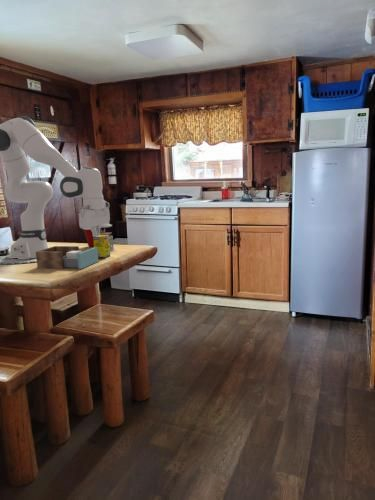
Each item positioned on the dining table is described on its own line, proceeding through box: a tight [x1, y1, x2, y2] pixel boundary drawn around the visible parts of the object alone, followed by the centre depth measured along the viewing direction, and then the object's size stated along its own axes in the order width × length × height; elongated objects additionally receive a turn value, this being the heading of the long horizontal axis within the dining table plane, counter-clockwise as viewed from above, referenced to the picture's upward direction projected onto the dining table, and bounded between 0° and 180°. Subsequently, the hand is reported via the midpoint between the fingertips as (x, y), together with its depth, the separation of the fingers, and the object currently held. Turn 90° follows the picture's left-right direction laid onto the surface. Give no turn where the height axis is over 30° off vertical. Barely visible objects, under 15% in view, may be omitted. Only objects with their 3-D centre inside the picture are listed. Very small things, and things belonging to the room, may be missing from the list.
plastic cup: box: [82, 228, 94, 248], centre depth 224 cm, size 11×11×12 cm
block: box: [66, 250, 83, 258], centre depth 177 cm, size 5×5×5 cm
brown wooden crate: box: [35, 245, 80, 270], centre depth 179 cm, size 13×14×8 cm
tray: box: [63, 247, 99, 270], centre depth 177 cm, size 13×15×7 cm
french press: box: [100, 223, 116, 253], centre depth 207 cm, size 10×12×25 cm
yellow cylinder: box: [93, 234, 111, 259], centre depth 192 cm, size 6×6×11 cm
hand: (96, 236), depth 171 cm, fingers closed
